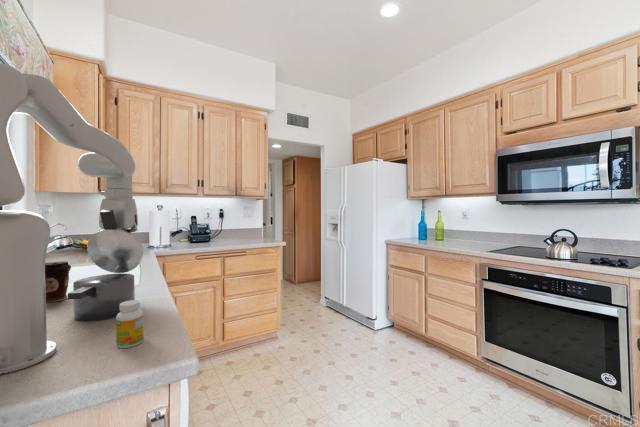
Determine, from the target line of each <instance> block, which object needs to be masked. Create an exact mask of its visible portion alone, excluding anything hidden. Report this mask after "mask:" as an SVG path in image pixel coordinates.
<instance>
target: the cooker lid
mask: <svg viewBox="0 0 640 427" xmlns="http://www.w3.org/2000/svg"><path fill="white" fill-rule="evenodd" d="M99 214H100V215H101V219H102V223H103V227H104V229H102V228H101V229H102V230H101V229H100V230H98V231H96V232H95V233H93V235H92V236H90V237H89V239H88V242H87V245H86V251H87V254H88V256H89V259H90V260H91V261H92V262H93V263H94V265H96V266H97V267H99V268H100V269H101V270H104V271H107V272H109V273H112V274H126V273H128V272H131V271H133V270H135V269H136V268H137V267H138V266H139V264H140V263H141V262H142V260H143V257H144V249H143V246H142V244H141V242H140V240H138V239H137V237H136V236H134V235H133V234H132V233H129V232H127V231H124V230H122V229H117V225H116V220H115V216H114V212H113V210H102V211H100V210H99Z"/></svg>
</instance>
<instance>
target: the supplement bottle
mask: <svg viewBox="0 0 640 427" xmlns="http://www.w3.org/2000/svg"><path fill="white" fill-rule="evenodd" d="M140 303H141V302H140V300H137V299H135V300H130V301H125V302H122V303H120V305H119V309H120V311H121V312H120V313H118V314H117V316H116V317H115V326H116V327H115V331H116V333H115V334H116V337H115V338H116V341H115V342H116V347H117V348H120V349H128V348H133V347H135V346H138V345H140V344H142V343H143V341H144V312H143V310H142V309H140V305H141V304H140Z"/></svg>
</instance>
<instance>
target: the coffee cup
mask: <svg viewBox="0 0 640 427" xmlns="http://www.w3.org/2000/svg"><path fill="white" fill-rule="evenodd" d="M71 268H72V266H71V264H69V261H67V260H66V261H63V260H62V261H54V262H53V261H52V262H51V261H50V262H49V261H48V262H45V290H46V303H53V302H60V301H65V300H68V295H67V293H68V288H69V282H70V275H69V274H70V270H71Z"/></svg>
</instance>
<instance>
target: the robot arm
mask: <svg viewBox="0 0 640 427" xmlns="http://www.w3.org/2000/svg"><path fill="white" fill-rule="evenodd" d="M14 114H25V115H27V116H30V118H32V119H33V120H34V121H35V123H37V125H39V126H40V127H41V128H42V129H43V130H44V131H46V133H48V135H49V136H50V137H52V138H53V139H54V140H55V141H56V142H57V143H60V144H63V145H65V146H67V147H71V148H73V149H74V148H75V149H78V150H81V151H87V153H84V154H82V155H81V156H80V157H79V159H78V160H77V165H78V168H79V170H80V171H81V172H82V173H83V175H85V176H88V177H92V178H104V190H103V191H102V190H101V191H100V194H101V196H104V198H102V199H101V203H100V207H99V212H100V211H102V210H113V212H114V216H115V220H116V225H117V229H122V230H124V231H127V232H129V233H130V234H132V233H135V232H138V225H139V224H138V223H139V220H138V215H139V214H138V209H137V203H136V199H134V198H133V174H134V173H135V171H136V163H135V159H134V157H133V155H132V154H131V153H130V151H129V150H128V149H127V147H126V146H125V145H124V143H122V142H121V141H120V140H119V139H117V138H116V137H114V136H113V135H111V134H109V132H108V133H107V132H105V131H104V130H102V129H100V128H98V127H96V126H95V125H92V124H90V123H88V122H87V121H86V120H85V119H84V117H83V116H82V115H81V113H79V112H78V110H77V109H76V108H75V107H74V106H73V104H72V103H71V102H70V100H68V99H67V98H66V96H65V95H64V94H63V93H62V91H61V90H60V89H59V88H58V87H57V86H56V85H55V84H54V83H53V82H52V81H51V80H50V79H48V78H47V77H45V76H43V75H39V74H33V73H32V74H31V73H22V72H21V71H20V70H18V69H17V68H16V67H13V66H11V65H8V64H6V63H0V207H5V206H7V207H8V206H11V205H13V204H14V205H15V204H16V203H18V202H20V201H21V200H22V199H23V198H24V197H25V193H26V187H25V183H24V179H23V176H22V173H21V170H20V168H19V165H18V161H17V159H16V156H15V153H14V150H13V147H12V144H11V141H10V137H9V124H10V122H11V119H12V117H13V115H14ZM98 225H99V228H100V230H102V229H104V227H103V223H102V219H101V215H100V213H99V217H98ZM50 238H51V227H50V224H49V222H48V221H47V220H46V218H44V217H43V216H41V214H39V213H36V212H32V211H28V210H19V209H17V210H16V209H8V210H7V209H2V210H0V375H3V374H2V373H4V374H9V373H13V372H16V371H19V370H20V371H21V370H22V369H26V368H28V367H31V366H33V365H36V364H38V363H41V362H43V361H45V360H47V359H48V358H49V357H52V356H53V355H54V354H55V353H56V351H57V343H56V342H54V341H51V340H48V336H47V333H48V330H47V326H48V325H47V302H46V290H45V263H46V258H47V257H46V256H47V251H48V246H49V242H50ZM8 372H9V373H8Z"/></svg>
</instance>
